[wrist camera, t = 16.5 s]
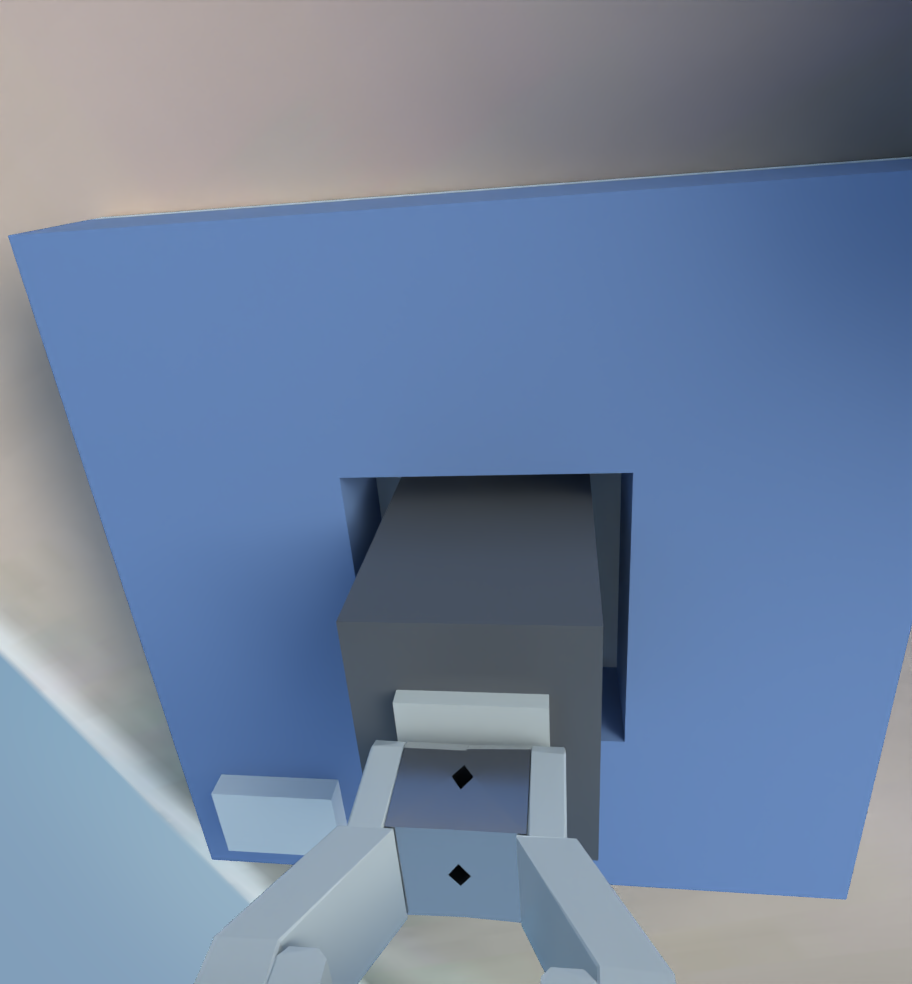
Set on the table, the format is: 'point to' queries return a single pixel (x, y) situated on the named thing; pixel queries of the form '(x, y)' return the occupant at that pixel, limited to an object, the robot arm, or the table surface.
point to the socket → (520, 451)
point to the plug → (483, 624)
